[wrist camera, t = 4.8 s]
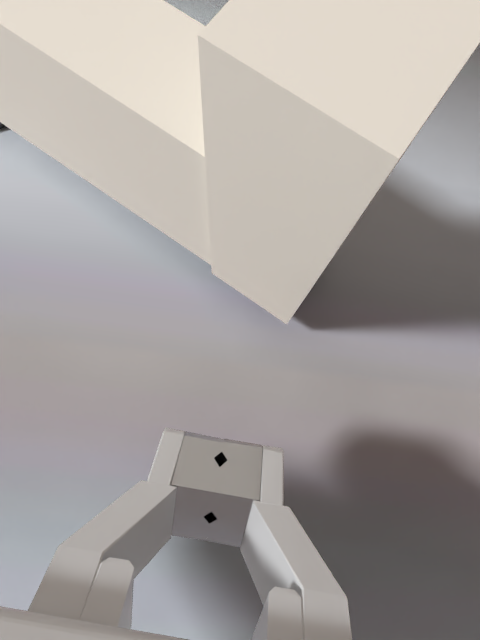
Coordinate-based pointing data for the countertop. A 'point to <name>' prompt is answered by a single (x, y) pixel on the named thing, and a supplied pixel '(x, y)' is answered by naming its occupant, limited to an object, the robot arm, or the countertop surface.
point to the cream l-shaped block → (235, 116)
